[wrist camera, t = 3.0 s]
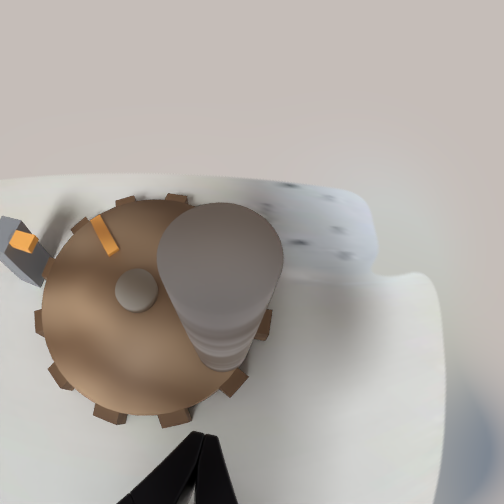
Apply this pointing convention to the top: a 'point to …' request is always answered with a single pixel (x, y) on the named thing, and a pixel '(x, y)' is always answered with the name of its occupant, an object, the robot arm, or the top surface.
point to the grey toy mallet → (22, 251)
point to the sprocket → (158, 305)
